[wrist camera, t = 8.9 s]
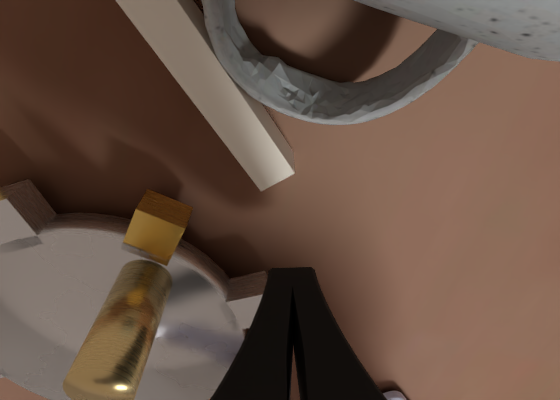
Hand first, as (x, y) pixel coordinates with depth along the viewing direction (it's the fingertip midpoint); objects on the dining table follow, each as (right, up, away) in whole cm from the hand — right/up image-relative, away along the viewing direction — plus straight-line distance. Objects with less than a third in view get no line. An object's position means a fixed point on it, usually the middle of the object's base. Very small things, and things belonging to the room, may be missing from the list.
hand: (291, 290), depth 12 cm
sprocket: (-7, -2, +5) cm, 9 cm away
